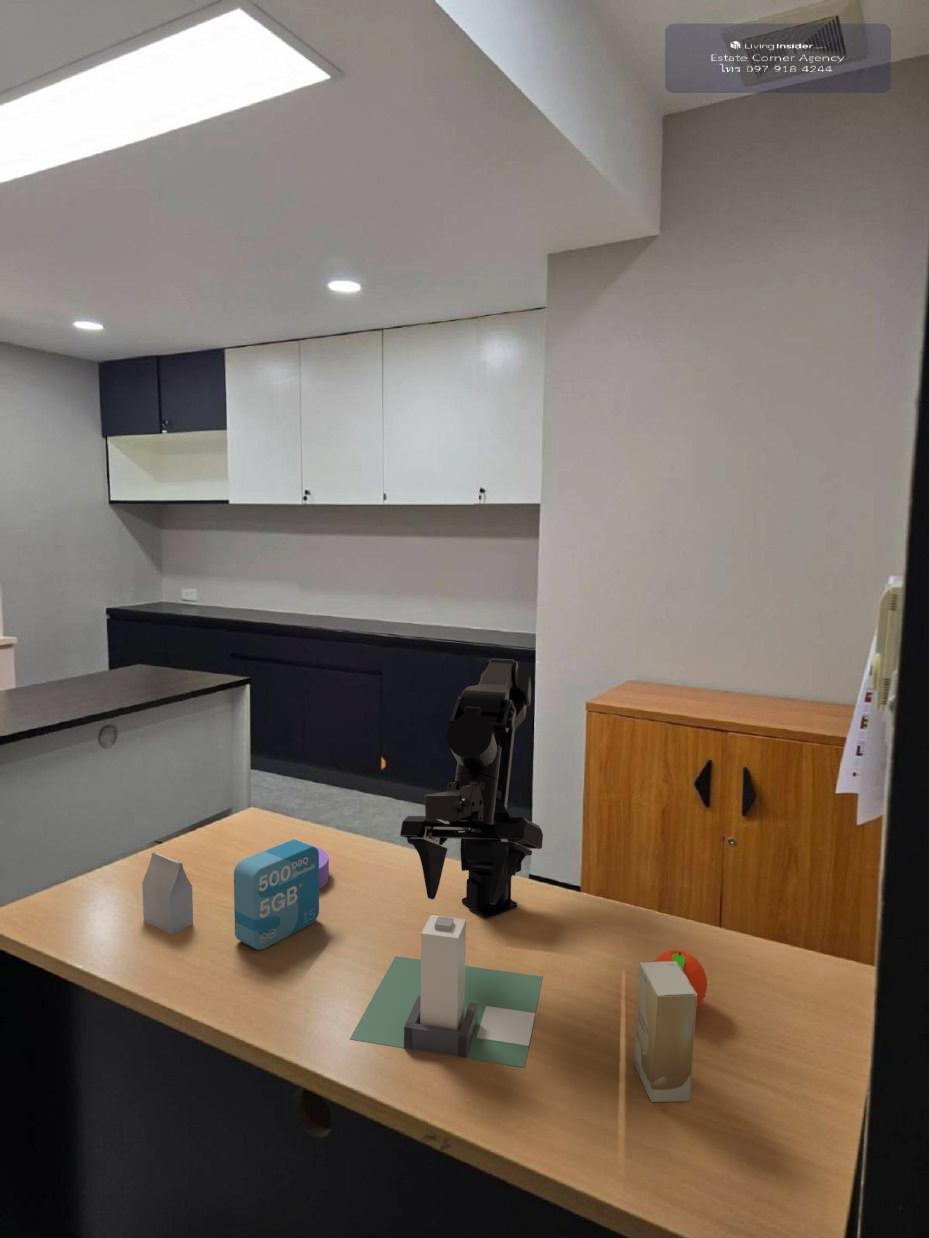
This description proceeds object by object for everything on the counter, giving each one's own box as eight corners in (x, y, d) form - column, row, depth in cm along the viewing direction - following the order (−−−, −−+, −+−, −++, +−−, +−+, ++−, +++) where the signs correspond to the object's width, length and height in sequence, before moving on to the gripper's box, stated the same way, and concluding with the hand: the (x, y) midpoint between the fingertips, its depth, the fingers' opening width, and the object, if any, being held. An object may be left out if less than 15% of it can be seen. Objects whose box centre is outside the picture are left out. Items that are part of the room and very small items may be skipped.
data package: (254, 954, 106) (253, 871, 104) (234, 943, 108) (232, 862, 107) (319, 920, 115) (319, 843, 114) (299, 910, 118) (299, 836, 117)
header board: (395, 962, 104) (395, 938, 104) (542, 983, 100) (543, 958, 100) (349, 1046, 87) (349, 1018, 87) (524, 1076, 83) (525, 1045, 83)
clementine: (706, 1034, 91) (709, 977, 90) (645, 1022, 93) (648, 967, 92) (705, 995, 98) (708, 943, 97) (650, 985, 100) (652, 933, 99)
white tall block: (429, 1018, 91) (430, 909, 89) (464, 1024, 90) (466, 914, 88) (420, 1041, 87) (421, 928, 85) (456, 1047, 86) (458, 932, 84)
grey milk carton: (171, 934, 110) (169, 868, 109) (143, 920, 114) (141, 856, 113) (193, 924, 114) (191, 859, 112) (165, 910, 117) (163, 848, 116)
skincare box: (632, 1062, 86) (637, 959, 84) (670, 1060, 86) (676, 958, 84) (651, 1105, 79) (657, 994, 78) (692, 1103, 80) (698, 993, 78)
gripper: (385, 763, 102) (363, 886, 95) (508, 759, 92) (493, 896, 86) (432, 785, 110) (414, 900, 104) (549, 784, 100) (538, 910, 94)
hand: (461, 901), depth 96 cm, fingers open, 9 cm apart
